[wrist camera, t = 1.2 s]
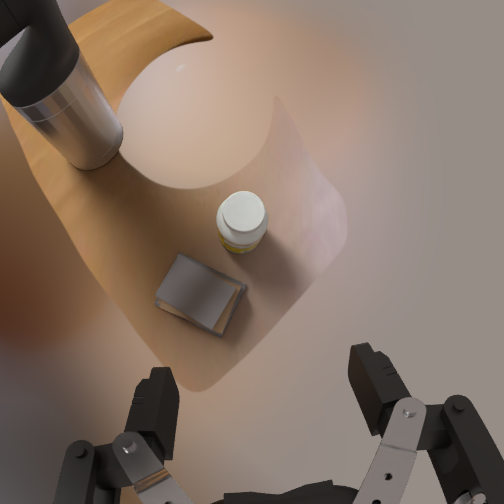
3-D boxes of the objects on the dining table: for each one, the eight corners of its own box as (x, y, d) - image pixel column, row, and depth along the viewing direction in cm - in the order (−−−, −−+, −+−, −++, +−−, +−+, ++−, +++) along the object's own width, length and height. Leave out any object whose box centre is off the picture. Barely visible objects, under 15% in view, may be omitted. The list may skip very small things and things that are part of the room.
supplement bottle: (253, 260, 38) (261, 247, 29) (211, 245, 38) (206, 228, 28) (267, 219, 39) (279, 195, 29) (226, 205, 39) (226, 177, 29)
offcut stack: (155, 303, 36) (146, 304, 32) (180, 252, 37) (174, 247, 33) (221, 337, 36) (220, 342, 32) (246, 285, 38) (248, 283, 33)
